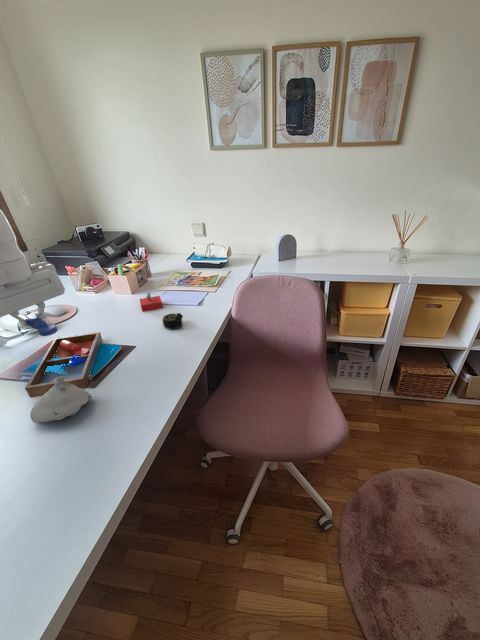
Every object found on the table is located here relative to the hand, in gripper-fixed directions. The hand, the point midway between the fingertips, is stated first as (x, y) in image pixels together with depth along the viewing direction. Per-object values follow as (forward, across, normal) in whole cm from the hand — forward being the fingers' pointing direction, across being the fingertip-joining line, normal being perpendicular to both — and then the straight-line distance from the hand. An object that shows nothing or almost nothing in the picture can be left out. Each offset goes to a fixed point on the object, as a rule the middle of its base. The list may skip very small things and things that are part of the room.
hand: (33, 321), depth 80 cm
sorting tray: (+15, -3, +2) cm, 16 cm away
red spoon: (+15, -7, -1) cm, 16 cm away
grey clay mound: (+16, +10, +21) cm, 28 cm away
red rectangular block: (+16, -43, -7) cm, 47 cm away
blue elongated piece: (+2, 0, +2) cm, 3 cm away
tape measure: (+16, -36, +13) cm, 41 cm away
